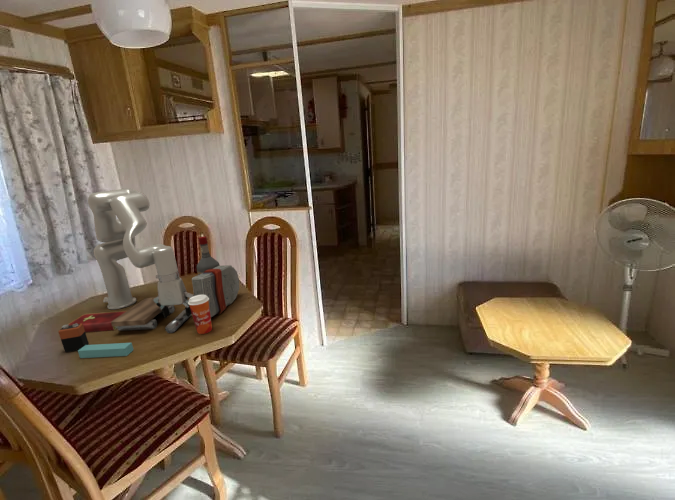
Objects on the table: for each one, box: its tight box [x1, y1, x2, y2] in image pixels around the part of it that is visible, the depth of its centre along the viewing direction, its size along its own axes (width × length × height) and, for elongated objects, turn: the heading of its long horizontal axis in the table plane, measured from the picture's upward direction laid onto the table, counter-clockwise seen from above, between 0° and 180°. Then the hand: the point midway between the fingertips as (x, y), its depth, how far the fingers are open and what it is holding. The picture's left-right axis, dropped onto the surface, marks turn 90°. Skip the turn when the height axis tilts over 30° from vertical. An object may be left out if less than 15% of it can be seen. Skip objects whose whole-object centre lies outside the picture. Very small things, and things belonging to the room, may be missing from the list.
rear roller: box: [158, 305, 176, 315], centre depth 165 cm, size 15×4×4 cm, turn 86°
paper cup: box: [188, 295, 213, 335], centre depth 142 cm, size 8×8×14 cm
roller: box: [165, 309, 192, 334], centre depth 151 cm, size 15×4×4 cm, turn 176°
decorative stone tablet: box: [191, 265, 240, 318], centre depth 162 cm, size 19×6×30 cm
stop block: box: [77, 342, 134, 359], centre depth 132 cm, size 18×4×3 cm, turn 86°
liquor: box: [196, 236, 221, 276], centre depth 175 cm, size 9×9×30 cm
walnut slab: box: [111, 296, 162, 327], centre depth 157 cm, size 14×24×2 cm, turn 176°
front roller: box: [116, 319, 158, 332], centre depth 151 cm, size 15×4×4 cm, turn 86°
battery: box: [57, 323, 90, 353], centre depth 138 cm, size 4×7×10 cm, turn 103°
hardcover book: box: [67, 310, 127, 333], centre depth 158 cm, size 12×21×4 cm, turn 89°
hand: (178, 315), depth 150 cm, fingers open, 9 cm apart
